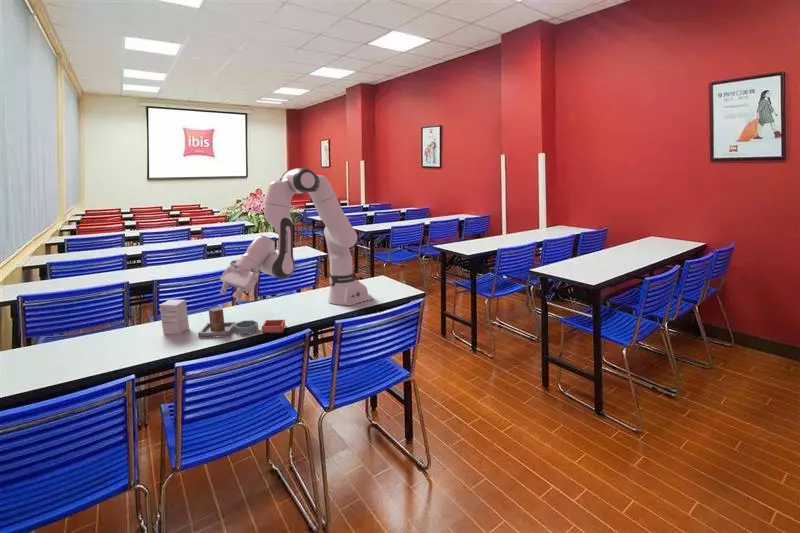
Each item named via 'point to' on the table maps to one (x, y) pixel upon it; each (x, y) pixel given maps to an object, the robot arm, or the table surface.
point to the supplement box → (174, 316)
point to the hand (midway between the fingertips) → (228, 295)
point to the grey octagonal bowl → (246, 327)
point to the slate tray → (208, 333)
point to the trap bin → (273, 326)
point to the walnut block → (216, 319)
